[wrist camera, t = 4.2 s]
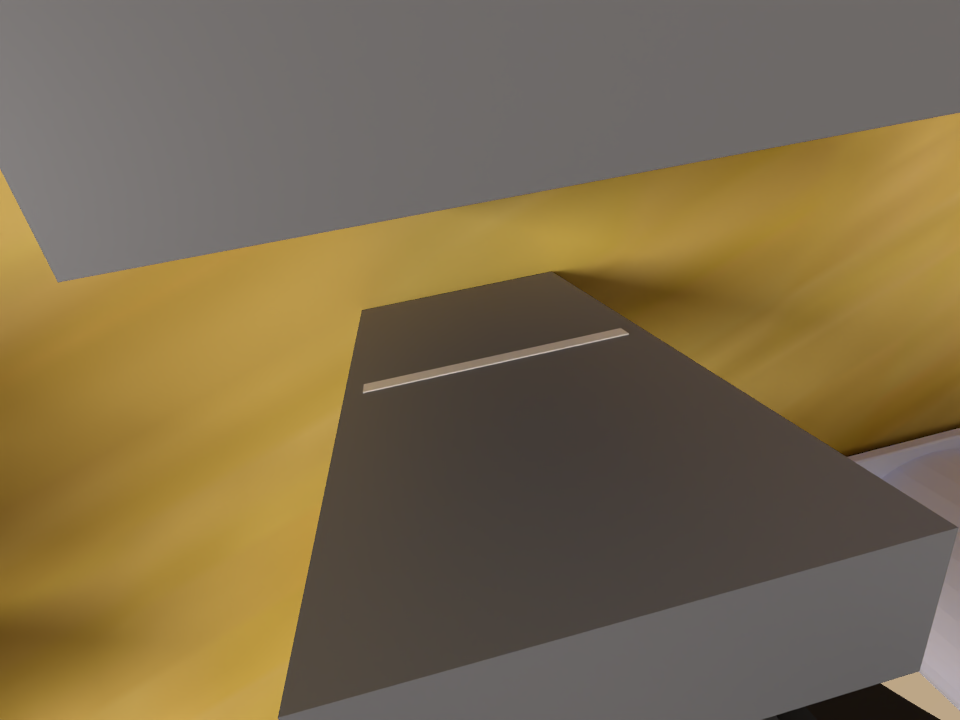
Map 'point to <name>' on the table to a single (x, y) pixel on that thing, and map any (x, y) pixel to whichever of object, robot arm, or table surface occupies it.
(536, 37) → the domino
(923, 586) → the domino
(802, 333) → the table surface
